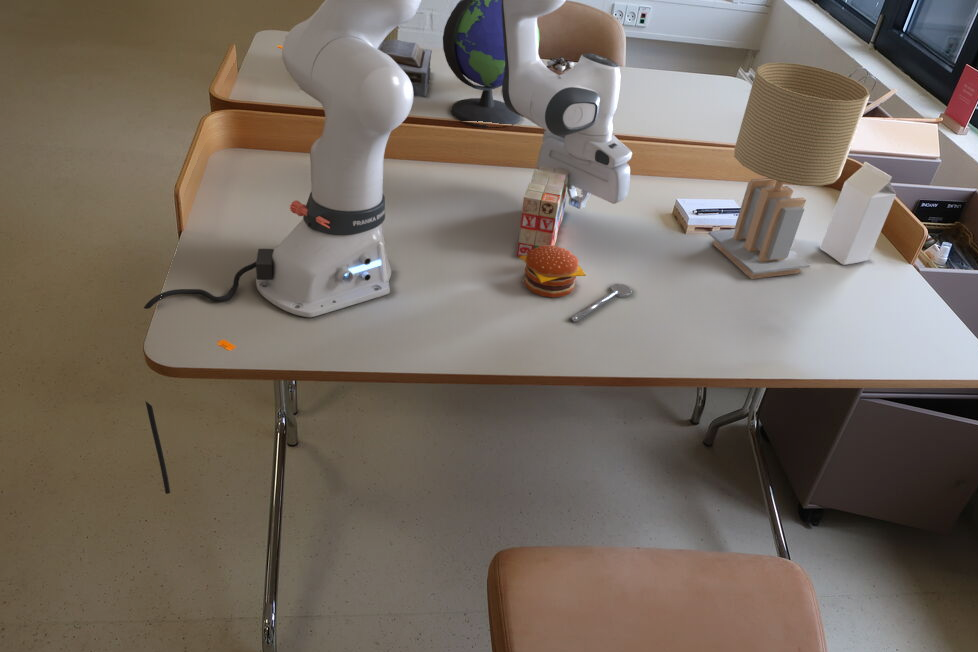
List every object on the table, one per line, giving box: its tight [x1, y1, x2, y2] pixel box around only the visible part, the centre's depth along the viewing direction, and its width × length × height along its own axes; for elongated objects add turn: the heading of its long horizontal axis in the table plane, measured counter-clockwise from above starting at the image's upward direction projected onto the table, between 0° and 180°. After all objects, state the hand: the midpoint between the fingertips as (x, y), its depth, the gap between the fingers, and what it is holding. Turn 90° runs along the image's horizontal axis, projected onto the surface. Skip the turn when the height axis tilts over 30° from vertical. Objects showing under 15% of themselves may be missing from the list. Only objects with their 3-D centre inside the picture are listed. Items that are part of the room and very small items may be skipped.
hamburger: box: [518, 245, 587, 298], centre depth 143 cm, size 9×10×7 cm
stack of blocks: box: [516, 166, 569, 258], centre depth 156 cm, size 21×6×12 cm, turn 172°
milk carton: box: [819, 161, 897, 266], centre depth 164 cm, size 7×7×19 cm
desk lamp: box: [708, 61, 871, 280], centre depth 153 cm, size 20×20×35 cm
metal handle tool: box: [571, 283, 632, 323], centre depth 142 cm, size 16×4×1 cm, turn 142°
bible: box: [378, 38, 433, 98], centre depth 215 cm, size 23×27×10 cm
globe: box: [442, 0, 540, 129], centre depth 198 cm, size 22×22×30 cm
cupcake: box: [545, 56, 576, 75], centre depth 223 cm, size 10×10×10 cm
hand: (576, 206), depth 167 cm, fingers closed
